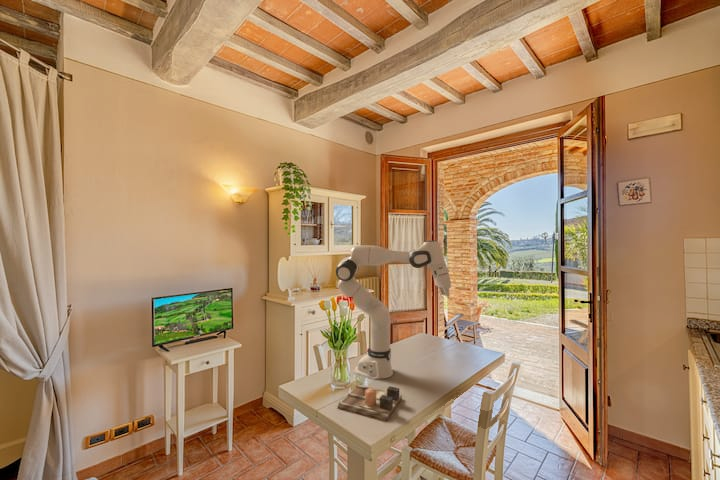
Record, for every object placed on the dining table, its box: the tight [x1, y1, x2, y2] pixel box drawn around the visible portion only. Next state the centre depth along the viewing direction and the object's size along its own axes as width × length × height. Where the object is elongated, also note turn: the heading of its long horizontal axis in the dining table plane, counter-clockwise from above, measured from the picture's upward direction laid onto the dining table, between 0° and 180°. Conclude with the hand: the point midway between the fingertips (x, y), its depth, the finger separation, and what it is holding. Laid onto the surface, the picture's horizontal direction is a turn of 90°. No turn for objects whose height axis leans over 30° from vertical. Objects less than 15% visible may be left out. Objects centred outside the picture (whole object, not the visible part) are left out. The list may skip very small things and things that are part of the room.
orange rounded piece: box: [365, 387, 376, 407], centre depth 140 cm, size 5×5×6 cm
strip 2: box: [376, 385, 401, 405], centre depth 147 cm, size 14×7×6 cm, turn 64°
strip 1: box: [360, 395, 394, 416], centre depth 139 cm, size 14×7×6 cm, turn 64°
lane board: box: [337, 384, 403, 422], centre depth 145 cm, size 24×20×2 cm
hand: (445, 295), depth 163 cm, fingers open, 8 cm apart
